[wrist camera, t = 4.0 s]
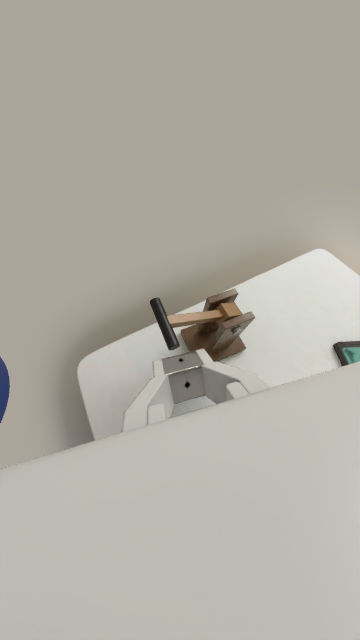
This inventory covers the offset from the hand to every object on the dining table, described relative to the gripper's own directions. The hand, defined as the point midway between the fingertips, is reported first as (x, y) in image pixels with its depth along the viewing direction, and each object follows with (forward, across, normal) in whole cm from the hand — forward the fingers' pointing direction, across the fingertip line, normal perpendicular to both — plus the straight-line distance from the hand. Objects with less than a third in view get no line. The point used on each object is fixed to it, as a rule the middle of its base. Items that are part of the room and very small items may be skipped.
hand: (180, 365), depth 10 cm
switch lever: (+12, -4, +2) cm, 12 cm away
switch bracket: (+20, -9, +10) cm, 24 cm away
